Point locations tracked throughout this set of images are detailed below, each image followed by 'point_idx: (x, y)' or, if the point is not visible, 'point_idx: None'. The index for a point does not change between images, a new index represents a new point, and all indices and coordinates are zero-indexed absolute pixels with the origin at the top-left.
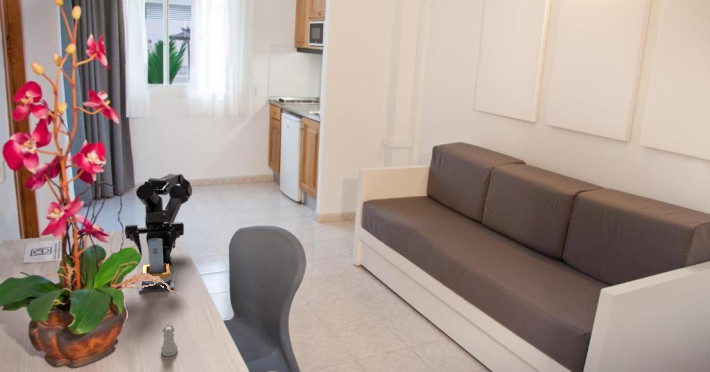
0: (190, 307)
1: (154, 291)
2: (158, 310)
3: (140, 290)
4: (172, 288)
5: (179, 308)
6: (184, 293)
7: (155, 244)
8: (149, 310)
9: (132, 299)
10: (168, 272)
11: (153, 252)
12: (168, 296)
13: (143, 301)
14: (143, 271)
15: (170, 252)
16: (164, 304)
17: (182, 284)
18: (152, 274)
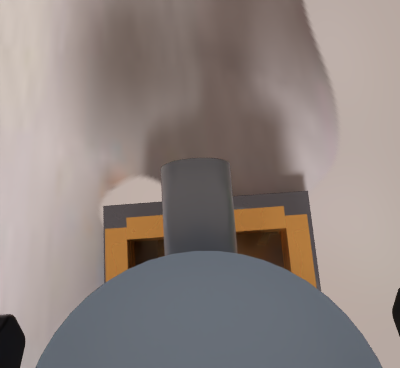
0: (36, 14)
1: None
2: (185, 4)
3: (300, 192)
4: (116, 206)
5: (88, 11)
6: (56, 159)
7: (190, 255)
8: (228, 8)
9: (329, 126)
10: (113, 239)
11: (225, 168)
12: (141, 136)
13: (268, 97)
14: (314, 286)
15: (5, 318)
16: (159, 55)
17: (60, 276)
18: (235, 220)
